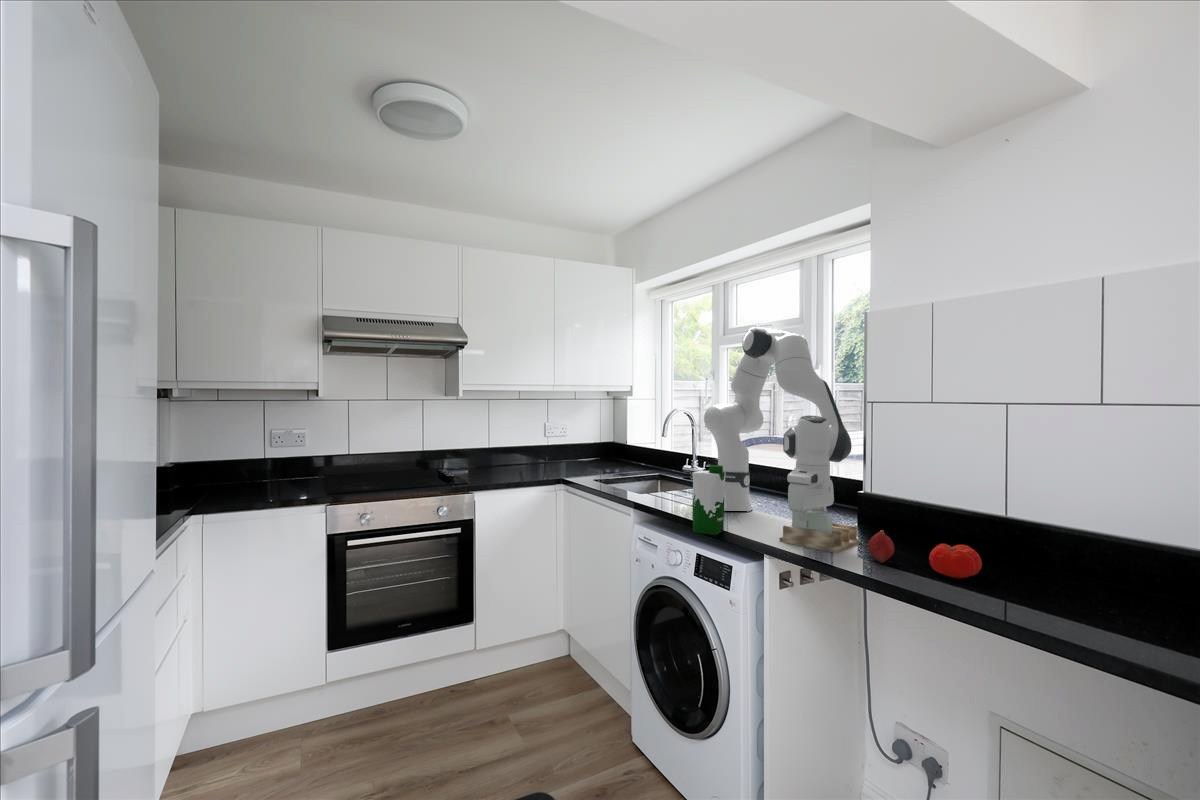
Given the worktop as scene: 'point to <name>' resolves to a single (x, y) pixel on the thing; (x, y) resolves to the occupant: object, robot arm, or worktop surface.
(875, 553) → the onion
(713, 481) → the milk carton
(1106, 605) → the worktop surface
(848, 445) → the robot arm
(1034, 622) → the worktop surface
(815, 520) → the pale green rectangular block
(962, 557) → the tomato
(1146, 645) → the worktop surface
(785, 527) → the dish rack
